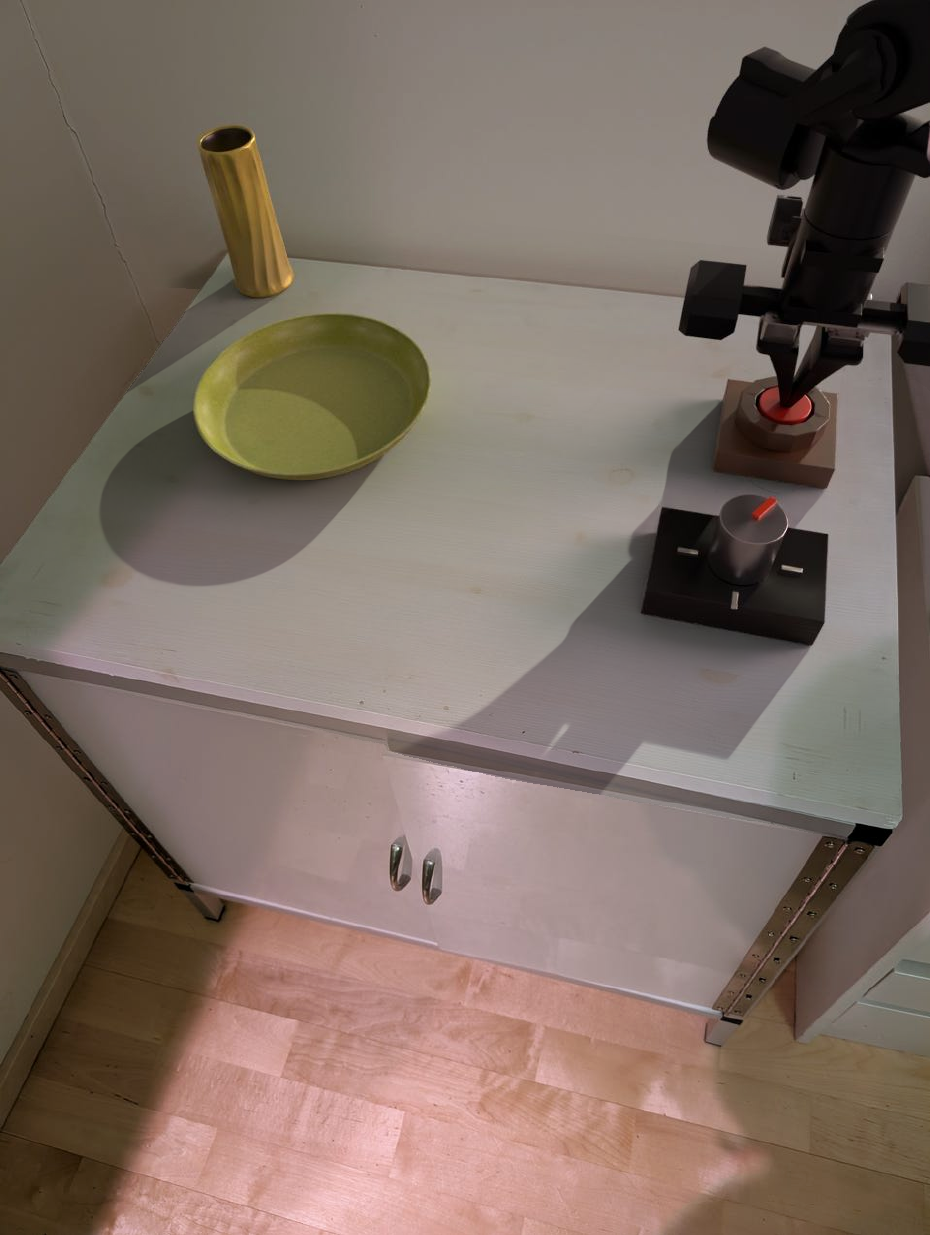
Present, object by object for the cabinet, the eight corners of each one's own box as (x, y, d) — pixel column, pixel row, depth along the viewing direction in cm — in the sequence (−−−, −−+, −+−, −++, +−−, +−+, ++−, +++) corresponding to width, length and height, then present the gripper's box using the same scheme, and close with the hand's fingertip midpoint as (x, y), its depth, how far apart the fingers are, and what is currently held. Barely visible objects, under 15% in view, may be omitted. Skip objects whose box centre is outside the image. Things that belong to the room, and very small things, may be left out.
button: (806, 407, 69) (812, 390, 67) (804, 440, 67) (810, 423, 65) (756, 400, 70) (761, 383, 68) (752, 433, 67) (757, 416, 66)
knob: (746, 596, 58) (763, 552, 54) (694, 561, 60) (707, 516, 56) (783, 560, 59) (802, 514, 55) (732, 527, 61) (747, 481, 57)
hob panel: (816, 556, 63) (829, 529, 60) (812, 650, 58) (825, 624, 56) (656, 529, 65) (662, 501, 63) (639, 617, 61) (645, 591, 58)
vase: (224, 291, 86) (178, 149, 75) (256, 259, 89) (216, 117, 78) (274, 303, 85) (235, 160, 73) (305, 270, 88) (272, 127, 76)
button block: (830, 413, 72) (845, 376, 68) (826, 489, 67) (842, 452, 63) (722, 398, 73) (732, 361, 70) (712, 471, 68) (722, 434, 65)
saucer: (288, 320, 83) (281, 291, 80) (474, 375, 77) (472, 346, 74) (155, 455, 73) (142, 427, 70) (356, 532, 67) (349, 504, 64)
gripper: (997, 164, 56) (908, 355, 69) (715, 141, 60) (680, 327, 73) (1011, 258, 50) (911, 448, 63) (697, 226, 54) (662, 412, 67)
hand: (785, 403), depth 67 cm, fingers closed, pressing on button
